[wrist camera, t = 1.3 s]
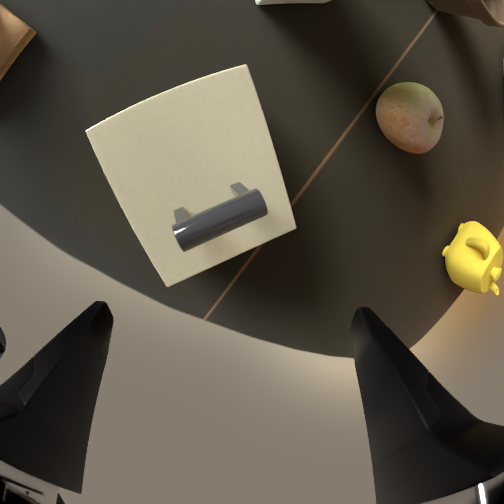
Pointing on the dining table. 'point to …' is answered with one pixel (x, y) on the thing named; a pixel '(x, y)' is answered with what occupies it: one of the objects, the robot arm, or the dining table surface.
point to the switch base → (12, 38)
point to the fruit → (410, 117)
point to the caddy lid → (196, 173)
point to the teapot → (474, 258)
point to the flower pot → (474, 9)
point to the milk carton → (288, 1)
